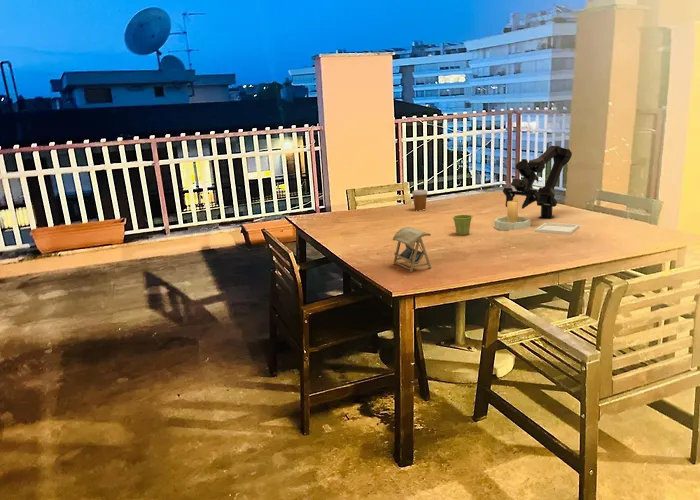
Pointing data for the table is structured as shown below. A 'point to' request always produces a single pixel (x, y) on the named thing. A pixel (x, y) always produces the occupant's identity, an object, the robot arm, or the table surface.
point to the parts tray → (557, 228)
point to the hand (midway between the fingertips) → (514, 207)
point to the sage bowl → (511, 224)
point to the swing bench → (411, 247)
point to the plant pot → (462, 224)
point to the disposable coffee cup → (419, 199)
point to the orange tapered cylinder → (512, 211)
